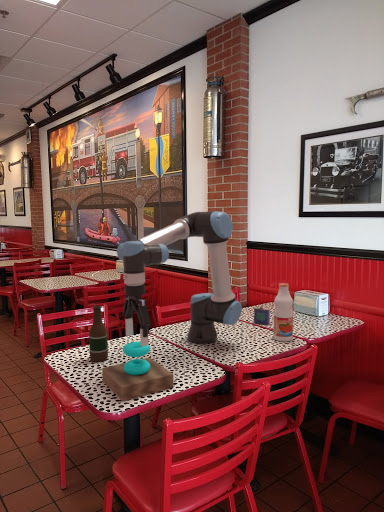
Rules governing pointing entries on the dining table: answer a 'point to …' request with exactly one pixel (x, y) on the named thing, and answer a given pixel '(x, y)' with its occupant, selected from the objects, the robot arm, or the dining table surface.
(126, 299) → the robot arm
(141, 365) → the donuts
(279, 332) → the fruit juice
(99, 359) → the beer bottle
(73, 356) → the dining table surface
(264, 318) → the flask
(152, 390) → the walnut stand
